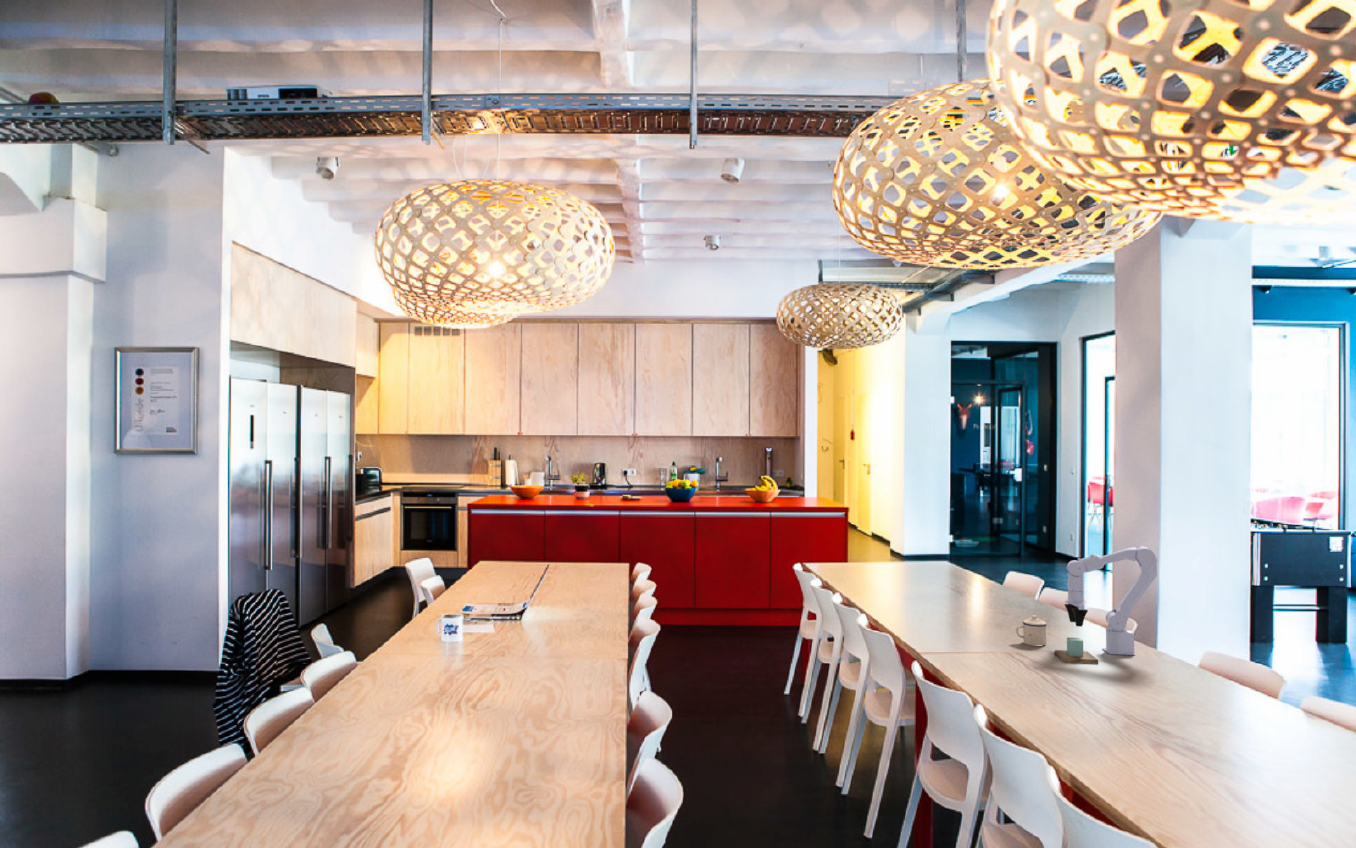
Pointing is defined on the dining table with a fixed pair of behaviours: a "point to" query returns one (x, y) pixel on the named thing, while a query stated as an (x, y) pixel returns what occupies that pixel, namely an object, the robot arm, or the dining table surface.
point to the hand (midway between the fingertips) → (1076, 624)
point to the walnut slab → (1076, 657)
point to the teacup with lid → (1033, 631)
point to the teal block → (1075, 646)
